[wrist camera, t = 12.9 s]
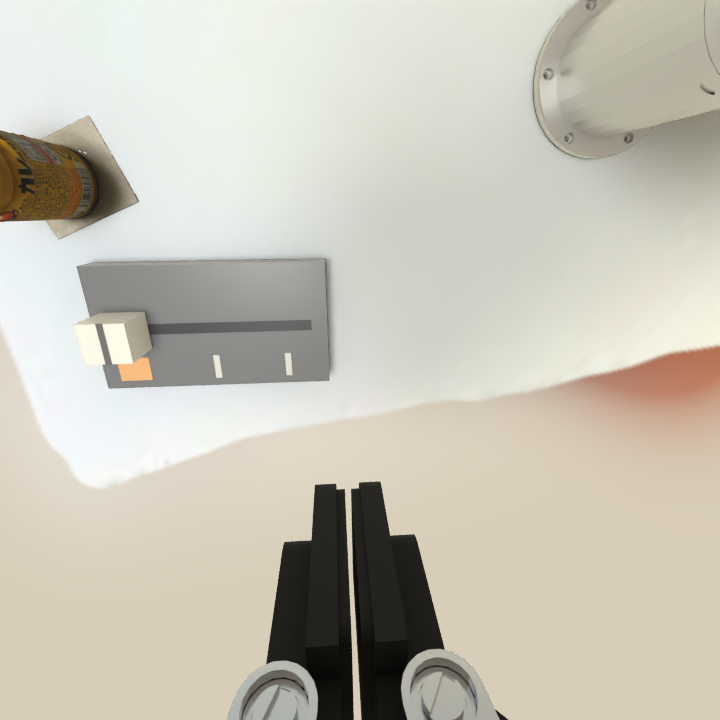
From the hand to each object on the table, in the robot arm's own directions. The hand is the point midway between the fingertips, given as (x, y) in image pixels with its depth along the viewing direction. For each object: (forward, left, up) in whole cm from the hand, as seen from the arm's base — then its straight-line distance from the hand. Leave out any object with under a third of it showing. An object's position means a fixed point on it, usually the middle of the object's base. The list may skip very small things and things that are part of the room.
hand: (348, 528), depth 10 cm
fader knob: (+20, +3, -29) cm, 35 cm away
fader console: (+12, +3, -32) cm, 34 cm away
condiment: (+23, -10, -32) cm, 41 cm away
